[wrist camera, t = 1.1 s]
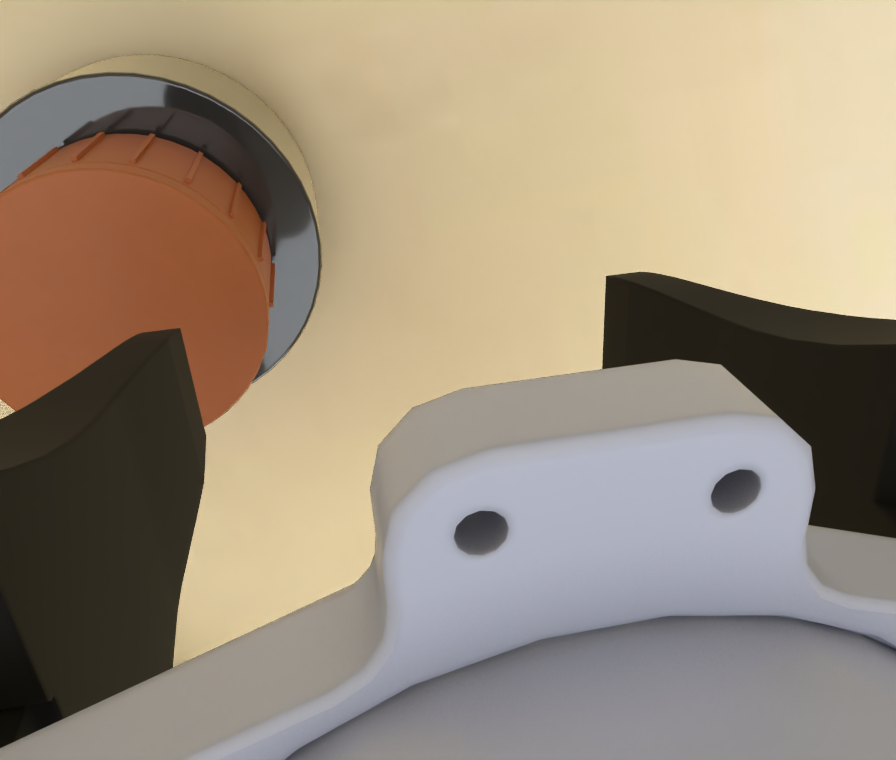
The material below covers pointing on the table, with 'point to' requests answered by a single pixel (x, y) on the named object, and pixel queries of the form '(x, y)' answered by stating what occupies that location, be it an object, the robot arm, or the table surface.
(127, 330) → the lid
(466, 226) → the table surface
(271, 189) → the grey round holder
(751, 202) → the table surface
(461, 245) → the table surface
